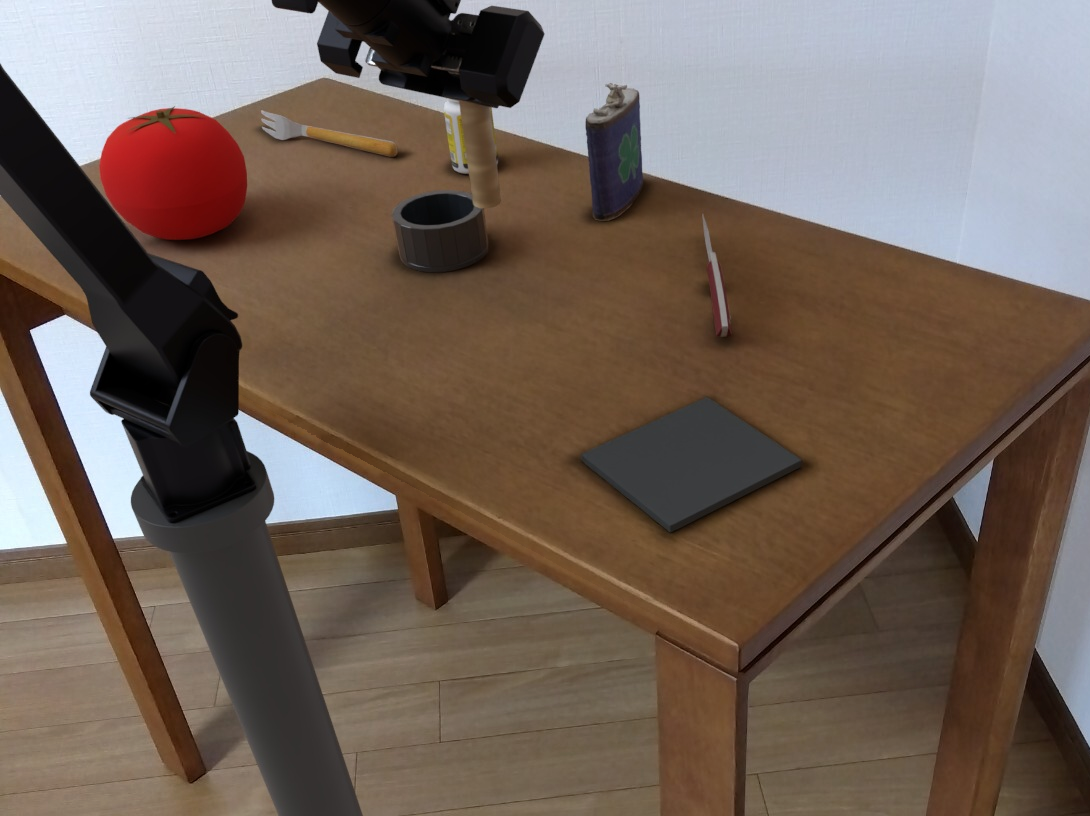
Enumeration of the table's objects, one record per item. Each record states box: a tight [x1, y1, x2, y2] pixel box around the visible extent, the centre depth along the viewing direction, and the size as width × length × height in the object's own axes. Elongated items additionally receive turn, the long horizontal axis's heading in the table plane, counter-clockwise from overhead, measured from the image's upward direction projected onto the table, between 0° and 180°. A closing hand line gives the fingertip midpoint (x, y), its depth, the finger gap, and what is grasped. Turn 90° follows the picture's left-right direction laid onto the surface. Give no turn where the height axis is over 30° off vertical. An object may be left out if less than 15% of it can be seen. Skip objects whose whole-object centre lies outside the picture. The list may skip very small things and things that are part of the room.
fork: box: [260, 109, 399, 158], centre depth 123 cm, size 2×2×20 cm
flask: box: [585, 82, 644, 222], centre depth 105 cm, size 9×3×11 cm, turn 157°
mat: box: [580, 396, 803, 534], centre depth 77 cm, size 11×10×1 cm
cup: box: [391, 189, 490, 273], centre depth 101 cm, size 8×8×4 cm
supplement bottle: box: [443, 98, 499, 175], centre depth 114 cm, size 5×5×8 cm
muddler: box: [453, 33, 502, 209], centre depth 92 cm, size 2×2×14 cm
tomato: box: [98, 105, 248, 241], centre depth 106 cm, size 12×13×11 cm
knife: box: [701, 212, 733, 338], centre depth 94 cm, size 20×1×3 cm, turn 1°
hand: (485, 99), depth 92 cm, fingers closed on muddler, 2 cm apart
